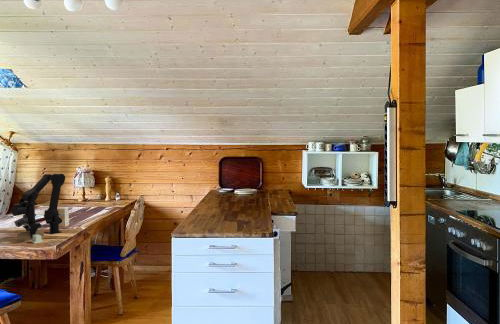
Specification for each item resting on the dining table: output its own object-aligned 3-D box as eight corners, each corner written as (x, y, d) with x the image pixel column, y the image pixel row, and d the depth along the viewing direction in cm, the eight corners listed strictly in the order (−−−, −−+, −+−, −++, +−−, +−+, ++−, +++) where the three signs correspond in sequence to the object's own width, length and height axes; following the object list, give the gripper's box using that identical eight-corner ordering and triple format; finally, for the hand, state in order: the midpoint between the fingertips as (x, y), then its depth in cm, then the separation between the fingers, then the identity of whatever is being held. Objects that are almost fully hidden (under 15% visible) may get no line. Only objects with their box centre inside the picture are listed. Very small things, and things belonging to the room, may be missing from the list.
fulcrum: (31, 242, 245) (30, 235, 245) (39, 240, 249) (39, 234, 249) (34, 243, 242) (34, 236, 241) (43, 241, 245) (42, 235, 245)
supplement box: (54, 226, 286) (53, 208, 285) (58, 225, 291) (58, 207, 290) (65, 227, 285) (64, 208, 284) (69, 225, 290) (68, 207, 289)
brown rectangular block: (17, 240, 248) (17, 232, 248) (42, 236, 257) (42, 229, 257) (18, 242, 246) (18, 233, 245) (44, 238, 255) (43, 230, 254)
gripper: (9, 213, 251) (11, 237, 252) (21, 216, 238) (22, 243, 239) (29, 210, 259) (30, 234, 260) (41, 213, 247) (42, 239, 248)
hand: (30, 237), depth 251 cm, fingers closed on brown rectangular block, 4 cm apart
